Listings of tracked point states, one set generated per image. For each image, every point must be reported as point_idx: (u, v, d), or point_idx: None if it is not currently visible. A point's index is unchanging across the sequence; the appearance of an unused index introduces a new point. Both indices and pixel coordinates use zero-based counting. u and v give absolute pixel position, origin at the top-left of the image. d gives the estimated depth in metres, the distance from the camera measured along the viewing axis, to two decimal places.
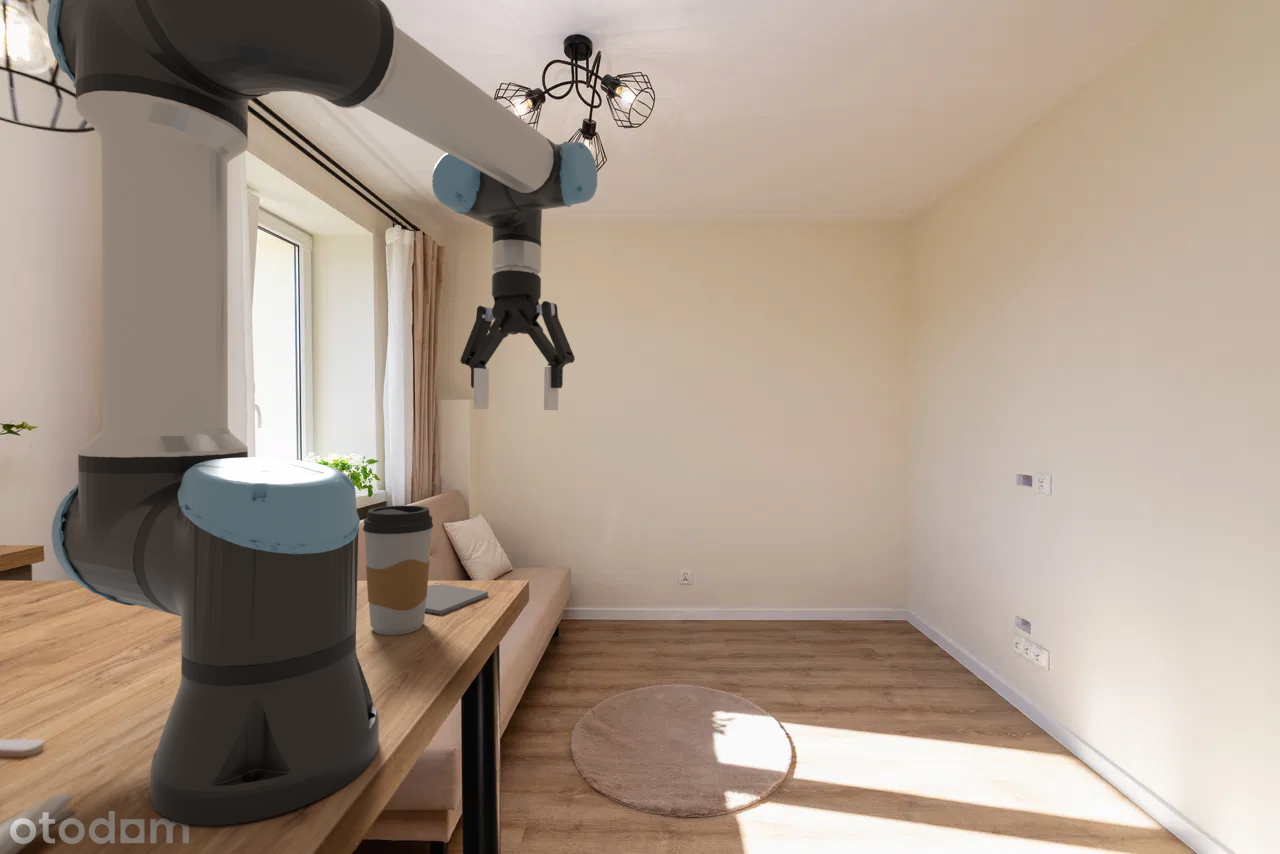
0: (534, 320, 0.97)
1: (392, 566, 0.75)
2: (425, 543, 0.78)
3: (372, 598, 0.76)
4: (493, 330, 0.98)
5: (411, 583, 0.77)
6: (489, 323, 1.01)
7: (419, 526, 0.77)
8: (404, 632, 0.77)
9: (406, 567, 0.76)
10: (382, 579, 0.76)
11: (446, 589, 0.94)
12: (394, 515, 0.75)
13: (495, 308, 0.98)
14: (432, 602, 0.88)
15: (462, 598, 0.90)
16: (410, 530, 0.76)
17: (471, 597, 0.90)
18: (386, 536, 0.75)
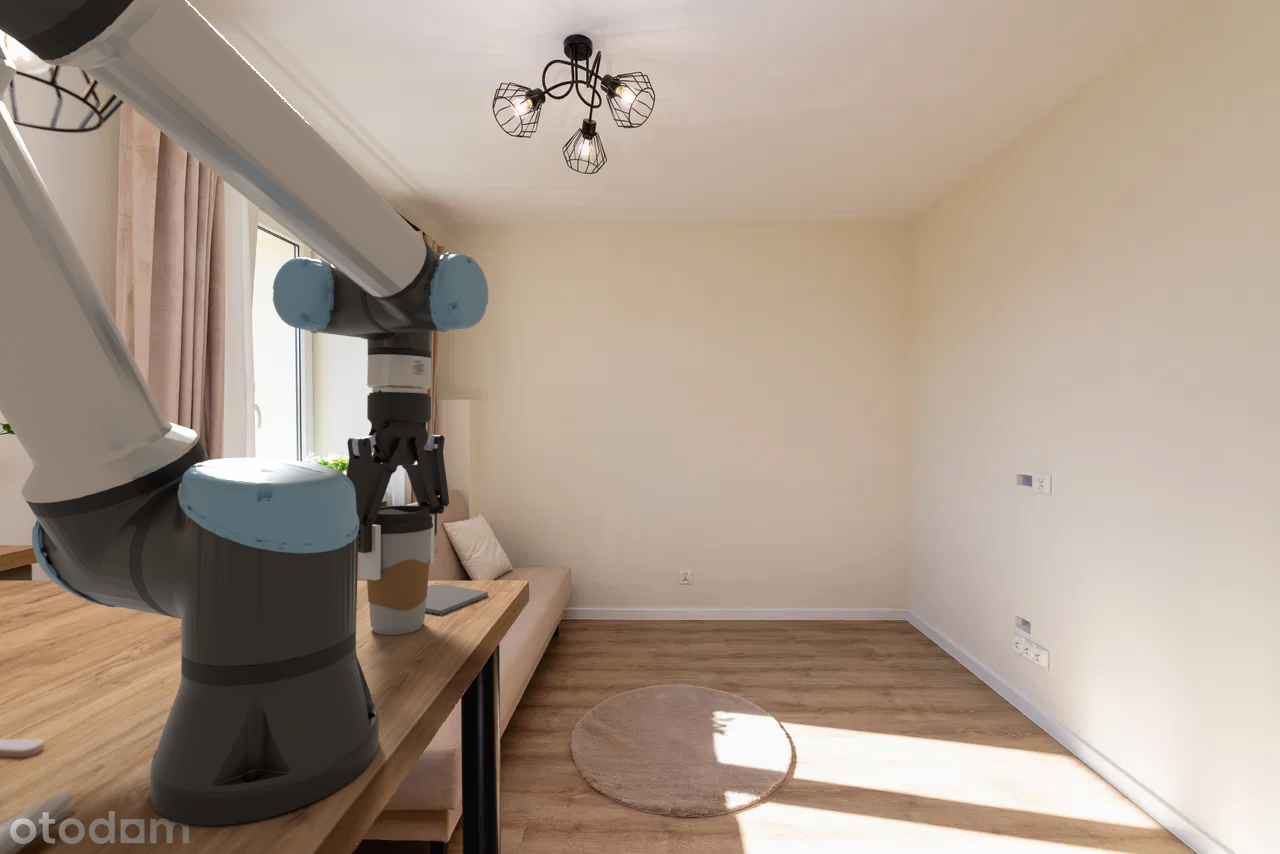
0: None
1: (392, 566, 0.75)
2: (425, 543, 0.78)
3: (372, 598, 0.76)
4: None
5: (411, 583, 0.77)
6: (434, 453, 0.83)
7: (419, 526, 0.77)
8: (404, 632, 0.77)
9: (406, 567, 0.76)
10: (382, 578, 0.76)
11: (446, 589, 0.94)
12: (394, 515, 0.75)
13: None
14: (432, 602, 0.88)
15: (462, 598, 0.90)
16: (410, 530, 0.76)
17: (471, 597, 0.90)
18: (386, 536, 0.75)
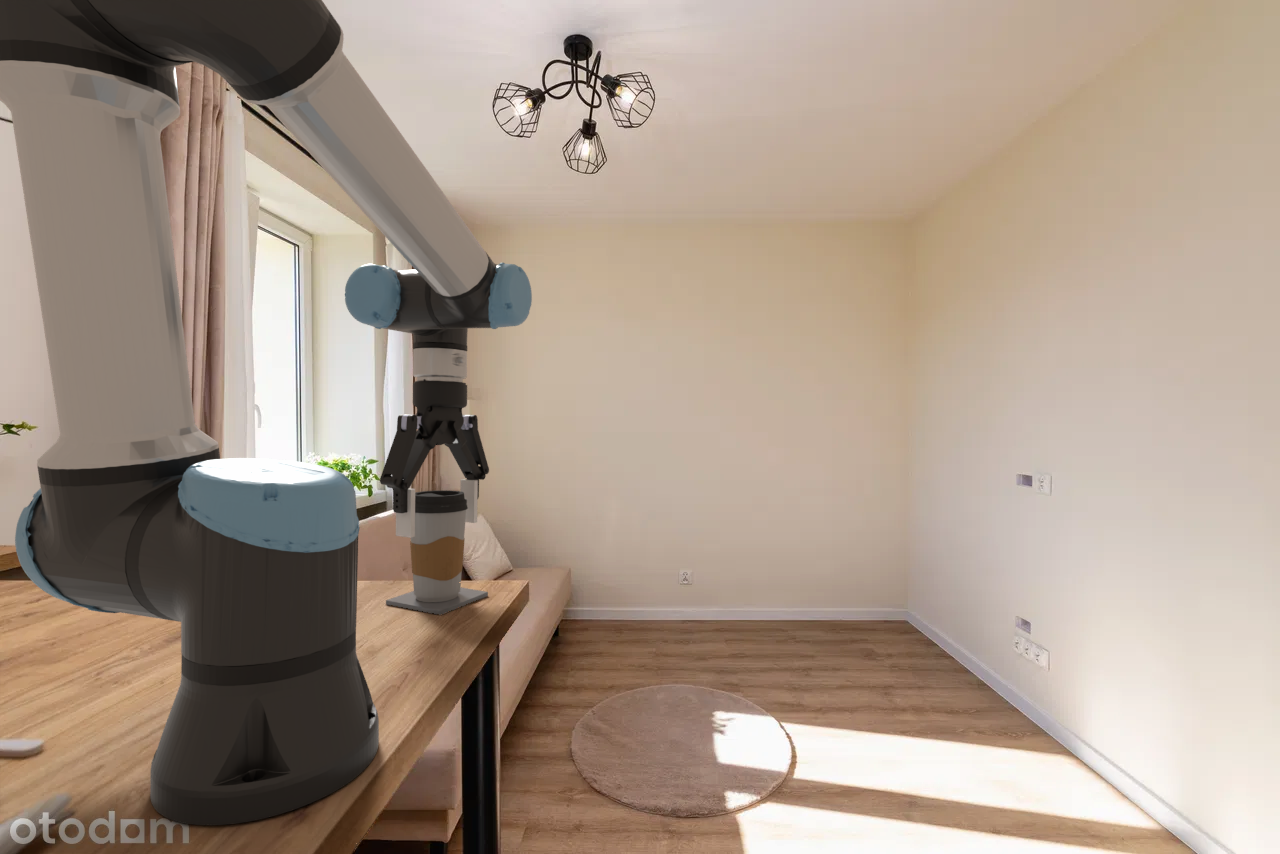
0: None
1: (433, 541, 0.87)
2: (462, 522, 0.90)
3: (415, 569, 0.88)
4: None
5: (450, 556, 0.88)
6: (471, 431, 0.95)
7: (457, 507, 0.88)
8: (444, 600, 0.88)
9: (445, 542, 0.87)
10: (425, 552, 0.87)
11: None
12: (435, 497, 0.87)
13: None
14: (432, 602, 0.88)
15: (462, 598, 0.90)
16: (449, 510, 0.87)
17: (471, 597, 0.90)
18: (429, 516, 0.86)
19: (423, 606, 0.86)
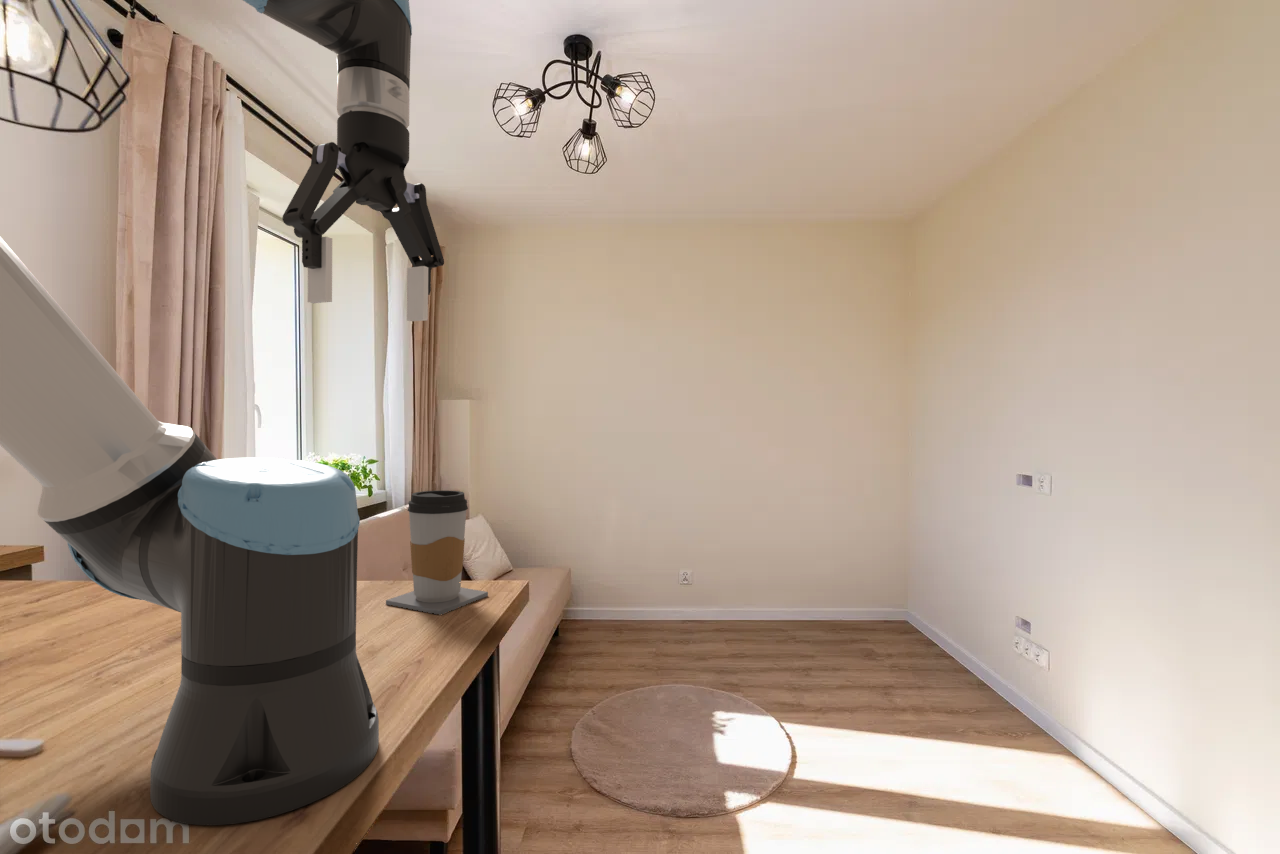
0: None
1: (433, 542, 0.87)
2: (462, 523, 0.89)
3: (416, 570, 0.88)
4: None
5: (450, 557, 0.88)
6: (417, 204, 0.76)
7: (457, 507, 0.88)
8: (444, 600, 0.88)
9: (445, 543, 0.87)
10: (425, 553, 0.87)
11: None
12: (435, 497, 0.87)
13: None
14: None
15: (462, 598, 0.90)
16: (449, 511, 0.87)
17: (471, 597, 0.90)
18: (429, 516, 0.86)
19: (423, 606, 0.86)
